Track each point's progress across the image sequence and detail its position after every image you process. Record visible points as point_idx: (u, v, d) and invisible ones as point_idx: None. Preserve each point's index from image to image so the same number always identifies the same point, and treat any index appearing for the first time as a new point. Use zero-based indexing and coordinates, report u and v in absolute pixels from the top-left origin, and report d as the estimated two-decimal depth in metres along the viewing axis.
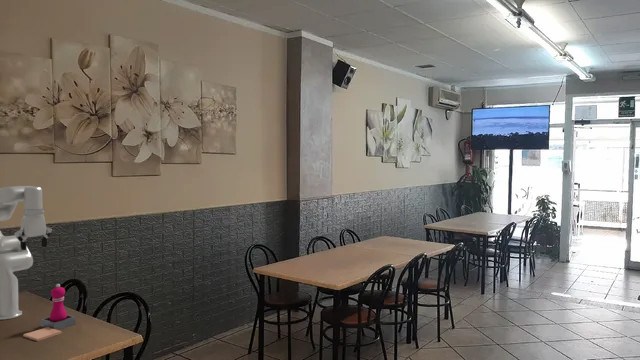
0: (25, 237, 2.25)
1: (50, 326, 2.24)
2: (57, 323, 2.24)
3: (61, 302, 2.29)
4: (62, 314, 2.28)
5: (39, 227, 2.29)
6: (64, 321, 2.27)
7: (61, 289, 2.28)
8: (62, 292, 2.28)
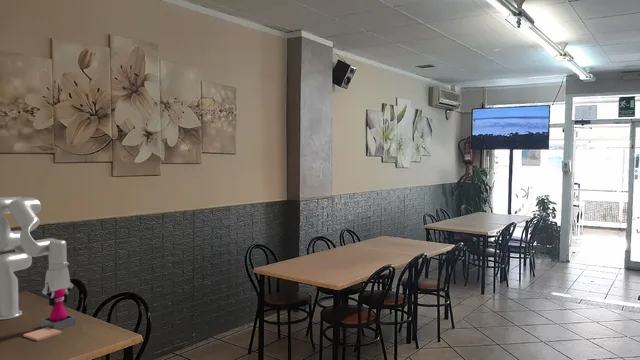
0: (52, 293, 2.25)
1: (50, 326, 2.24)
2: (57, 323, 2.24)
3: (61, 302, 2.29)
4: (62, 314, 2.28)
5: (63, 281, 2.29)
6: (64, 321, 2.27)
7: (61, 289, 2.28)
8: (62, 292, 2.28)
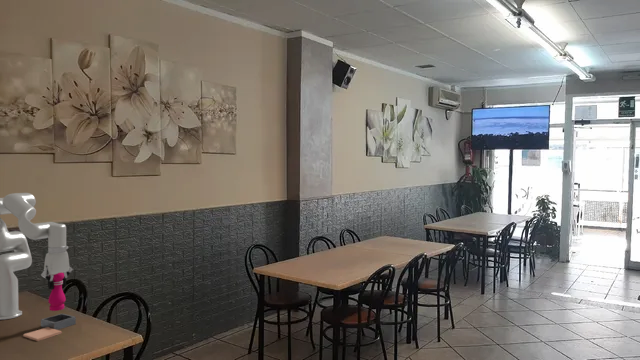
0: (51, 276, 2.25)
1: (50, 326, 2.24)
2: (57, 323, 2.24)
3: (60, 286, 2.28)
4: (61, 298, 2.28)
5: (62, 264, 2.29)
6: (64, 321, 2.27)
7: (60, 273, 2.28)
8: (61, 276, 2.28)
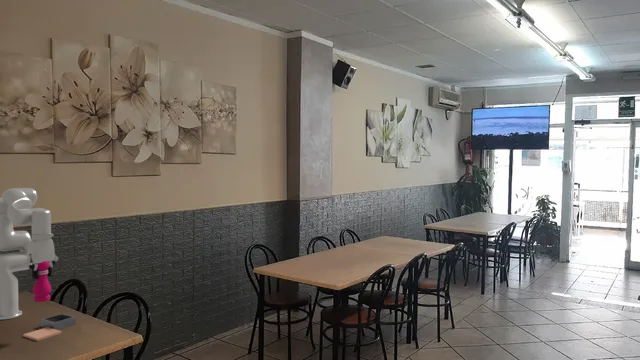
0: (35, 265, 2.12)
1: (50, 326, 2.24)
2: (57, 323, 2.24)
3: (45, 275, 2.15)
4: (46, 288, 2.14)
5: (47, 253, 2.16)
6: (64, 321, 2.27)
7: (45, 261, 2.15)
8: (46, 265, 2.14)
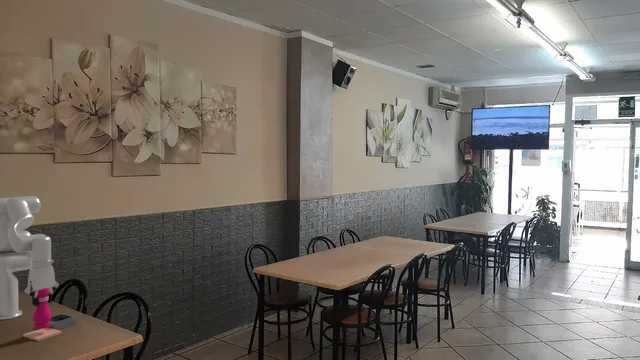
0: (36, 292, 2.12)
1: (50, 326, 2.24)
2: (57, 323, 2.24)
3: (45, 302, 2.16)
4: (46, 315, 2.15)
5: (48, 279, 2.16)
6: (64, 321, 2.27)
7: (45, 288, 2.15)
8: (46, 292, 2.15)
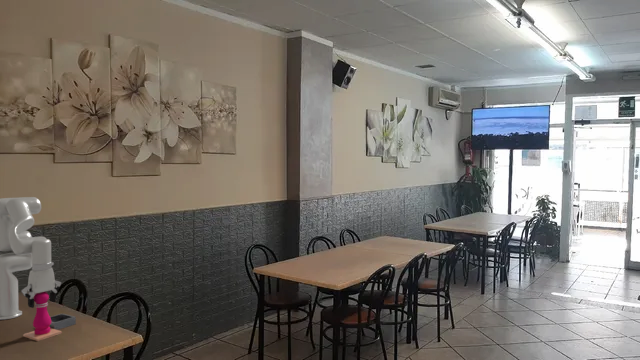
0: (33, 294, 2.11)
1: (50, 326, 2.24)
2: (57, 323, 2.24)
3: (45, 308, 2.16)
4: (46, 321, 2.15)
5: (48, 282, 2.16)
6: (64, 321, 2.27)
7: (44, 294, 2.15)
8: (45, 298, 2.15)
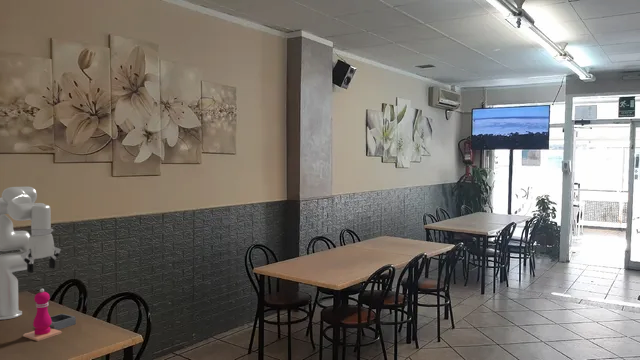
0: (32, 259, 2.11)
1: (50, 326, 2.24)
2: (57, 323, 2.24)
3: (45, 308, 2.16)
4: (46, 321, 2.15)
5: (47, 248, 2.15)
6: (64, 321, 2.27)
7: (45, 294, 2.15)
8: (46, 298, 2.15)
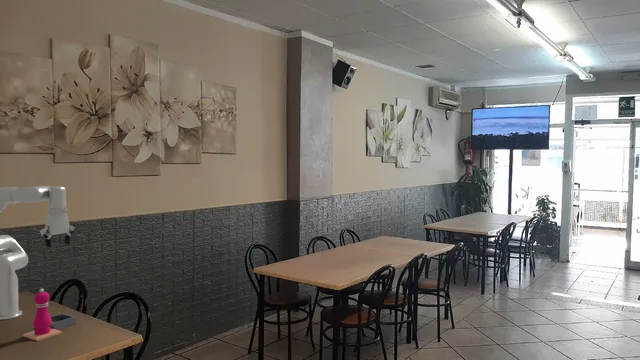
0: (50, 235, 2.35)
1: (50, 326, 2.24)
2: (57, 323, 2.24)
3: (45, 308, 2.16)
4: (46, 321, 2.15)
5: (63, 225, 2.40)
6: (64, 321, 2.27)
7: (45, 294, 2.15)
8: (45, 298, 2.15)
